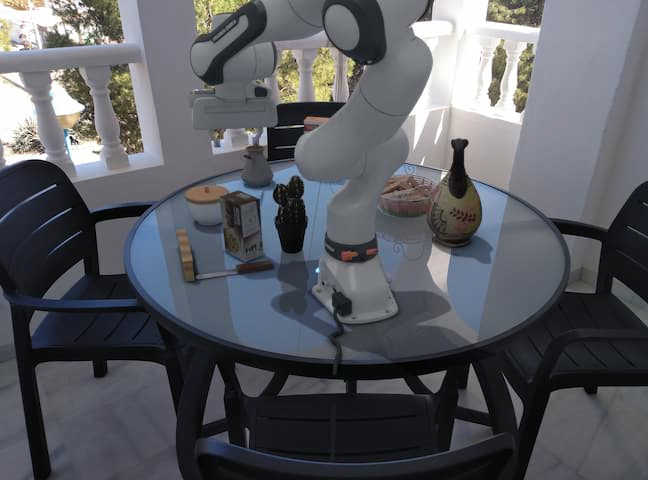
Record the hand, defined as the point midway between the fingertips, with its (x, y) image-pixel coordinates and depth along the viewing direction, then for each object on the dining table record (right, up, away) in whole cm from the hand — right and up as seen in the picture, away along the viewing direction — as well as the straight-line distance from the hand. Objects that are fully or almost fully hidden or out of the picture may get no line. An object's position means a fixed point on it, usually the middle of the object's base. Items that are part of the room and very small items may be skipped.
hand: (236, 145), depth 132 cm
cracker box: (+19, +4, +66) cm, 69 cm away
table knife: (-1, -31, +3) cm, 31 cm away
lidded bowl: (-14, -16, +30) cm, 36 cm away
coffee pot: (-5, -3, +54) cm, 54 cm away
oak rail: (-14, -29, +6) cm, 33 cm away
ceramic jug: (+57, -23, +20) cm, 64 cm away
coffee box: (0, -26, +12) cm, 29 cm away
